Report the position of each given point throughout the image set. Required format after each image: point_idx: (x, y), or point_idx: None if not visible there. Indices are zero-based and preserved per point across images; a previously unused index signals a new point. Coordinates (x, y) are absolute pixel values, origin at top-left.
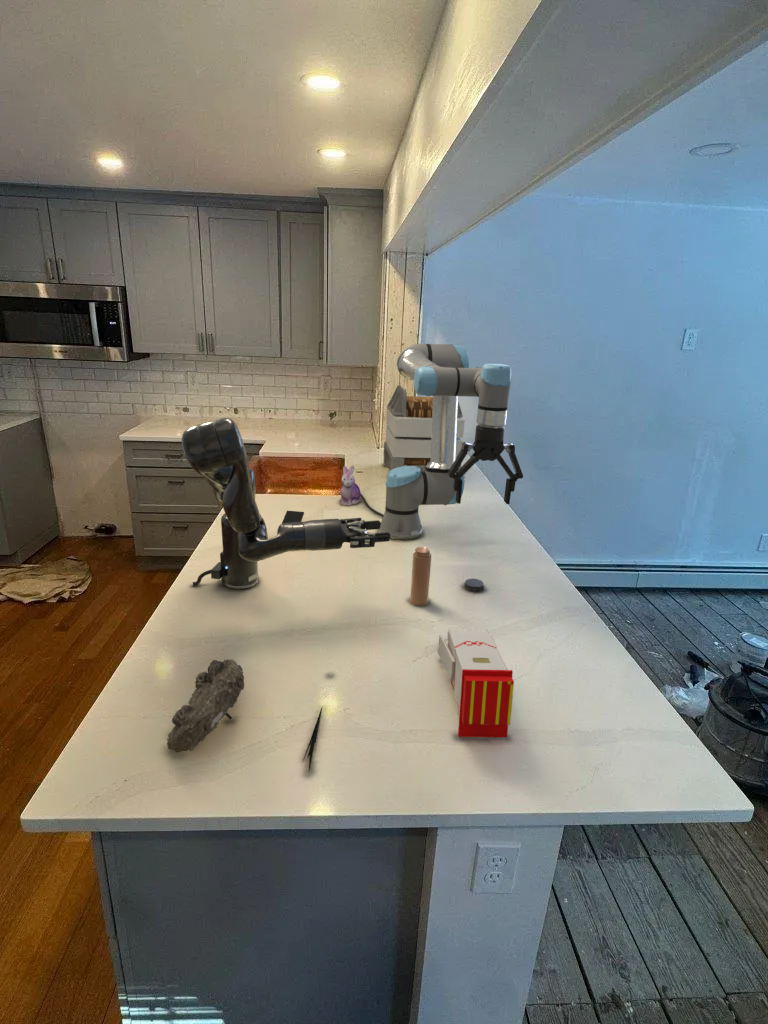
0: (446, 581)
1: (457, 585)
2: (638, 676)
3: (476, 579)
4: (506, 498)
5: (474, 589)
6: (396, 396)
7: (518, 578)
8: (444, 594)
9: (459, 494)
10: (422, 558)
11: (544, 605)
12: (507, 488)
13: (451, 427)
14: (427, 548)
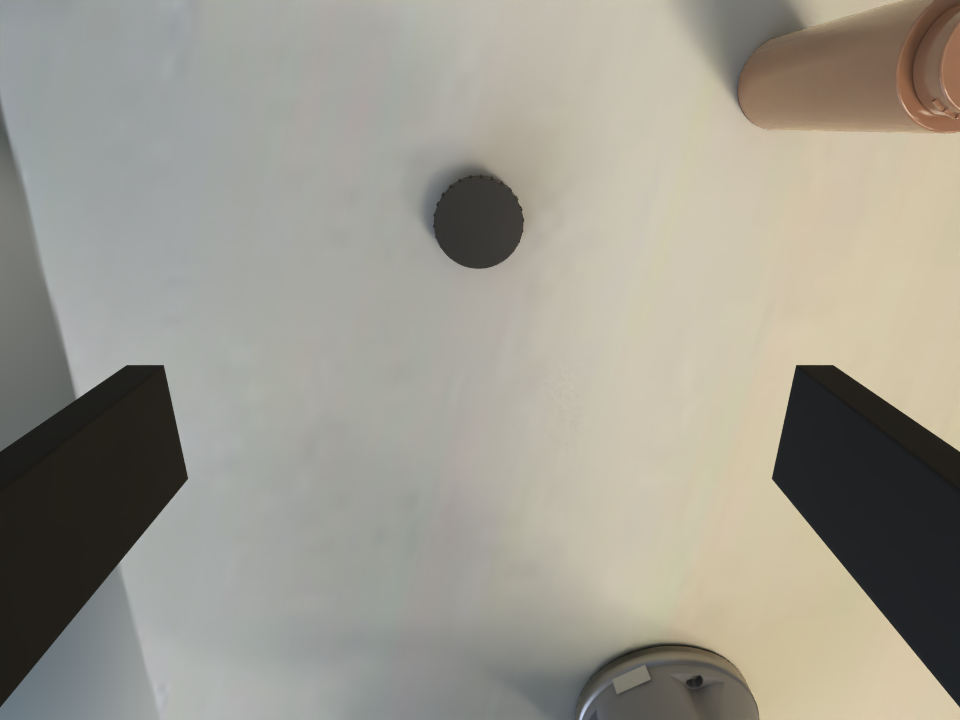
0: (590, 285)
1: (549, 245)
2: None
3: (460, 257)
4: (135, 431)
5: (487, 178)
6: None
7: (246, 311)
8: (636, 154)
9: (905, 427)
10: None
11: (166, 26)
12: (31, 536)
13: None
14: (950, 82)
